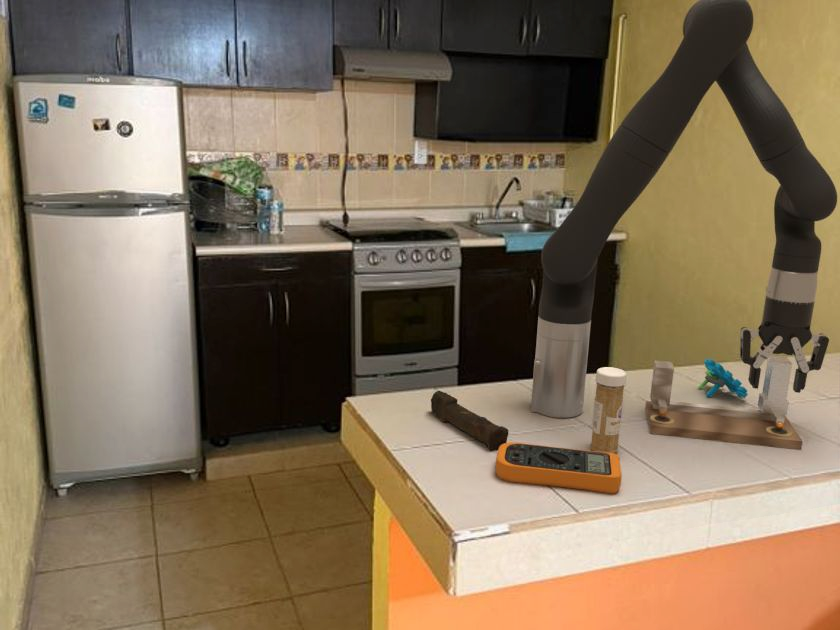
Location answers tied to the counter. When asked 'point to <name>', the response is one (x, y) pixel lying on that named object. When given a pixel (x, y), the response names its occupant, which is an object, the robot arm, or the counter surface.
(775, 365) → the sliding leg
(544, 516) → the counter surface
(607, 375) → the sprinkles bottle
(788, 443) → the plate
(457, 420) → the dark brown rod
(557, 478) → the multimeter
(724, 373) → the blue branching piece
